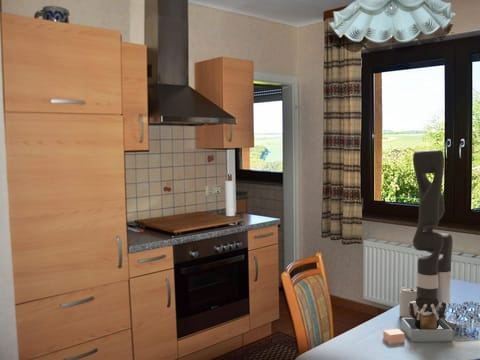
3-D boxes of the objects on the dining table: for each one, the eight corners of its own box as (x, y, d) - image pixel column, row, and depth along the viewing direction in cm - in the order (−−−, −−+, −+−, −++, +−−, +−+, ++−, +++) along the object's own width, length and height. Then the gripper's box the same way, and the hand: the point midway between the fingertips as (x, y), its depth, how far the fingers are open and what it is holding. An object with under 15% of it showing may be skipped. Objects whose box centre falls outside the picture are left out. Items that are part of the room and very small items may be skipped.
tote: (401, 329, 188) (401, 317, 188) (440, 329, 188) (440, 317, 187) (411, 342, 176) (411, 330, 176) (453, 342, 176) (453, 330, 176)
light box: (383, 339, 179) (383, 330, 179) (397, 337, 181) (397, 328, 181) (389, 344, 175) (389, 335, 175) (404, 342, 177) (404, 333, 176)
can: (419, 320, 197) (420, 292, 196) (400, 319, 198) (400, 291, 197) (416, 314, 204) (417, 286, 203) (398, 313, 205) (398, 285, 204)
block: (421, 333, 179) (421, 317, 179) (416, 327, 185) (416, 312, 184) (436, 332, 179) (436, 317, 179) (431, 327, 185) (431, 311, 184)
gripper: (442, 281, 184) (441, 324, 185) (404, 281, 184) (404, 324, 186) (450, 287, 176) (449, 332, 178) (411, 288, 177) (410, 332, 178)
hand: (426, 328), depth 182 cm, fingers closed on block, 5 cm apart
